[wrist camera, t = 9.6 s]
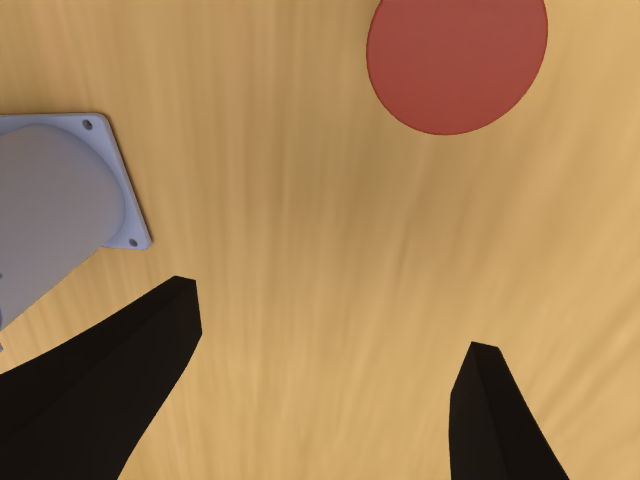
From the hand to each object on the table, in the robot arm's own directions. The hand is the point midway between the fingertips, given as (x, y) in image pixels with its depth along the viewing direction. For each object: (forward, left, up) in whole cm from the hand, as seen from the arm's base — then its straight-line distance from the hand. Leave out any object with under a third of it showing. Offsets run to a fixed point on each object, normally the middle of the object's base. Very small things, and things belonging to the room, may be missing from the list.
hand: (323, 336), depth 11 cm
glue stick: (+3, +6, -10) cm, 12 cm away
